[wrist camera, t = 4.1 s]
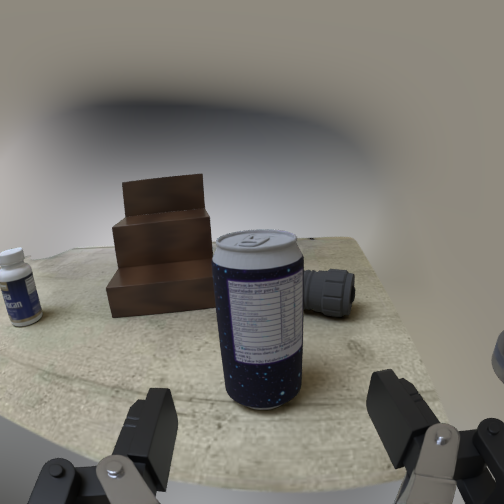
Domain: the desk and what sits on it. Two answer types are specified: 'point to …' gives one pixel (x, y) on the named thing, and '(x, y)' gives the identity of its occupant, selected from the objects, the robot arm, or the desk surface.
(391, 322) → the desk surface
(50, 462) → the robot arm
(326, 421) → the desk surface
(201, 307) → the wooden stair steps
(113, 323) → the desk surface
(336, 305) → the flashlight
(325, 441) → the desk surface
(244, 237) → the beverage can
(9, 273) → the pill bottle
